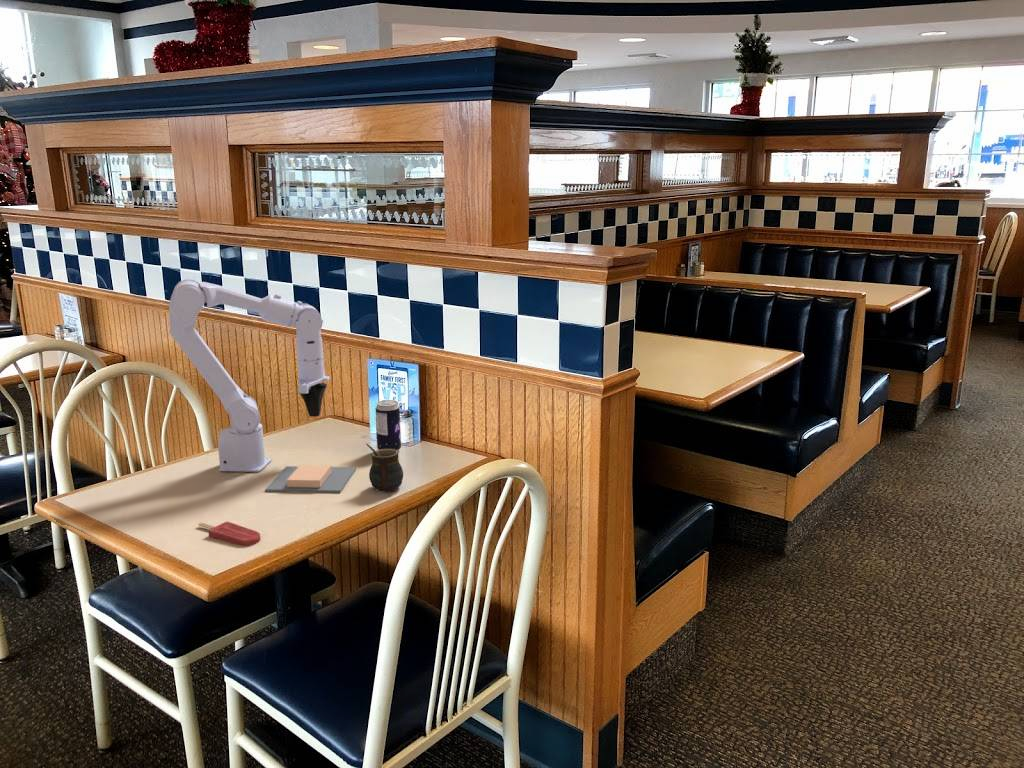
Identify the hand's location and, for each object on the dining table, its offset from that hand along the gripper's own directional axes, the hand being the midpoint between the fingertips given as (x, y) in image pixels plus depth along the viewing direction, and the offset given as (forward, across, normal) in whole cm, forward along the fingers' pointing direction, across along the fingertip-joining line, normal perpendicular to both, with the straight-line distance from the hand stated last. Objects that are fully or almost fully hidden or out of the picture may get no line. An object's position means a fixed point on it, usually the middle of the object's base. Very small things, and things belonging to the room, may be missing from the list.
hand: (314, 415), depth 189 cm
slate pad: (+10, -14, -3) cm, 18 cm away
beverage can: (+11, +6, -16) cm, 20 cm away
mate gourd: (+11, -18, -20) cm, 29 cm away
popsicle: (+11, -42, +5) cm, 44 cm away
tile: (+9, -11, -3) cm, 15 cm away
